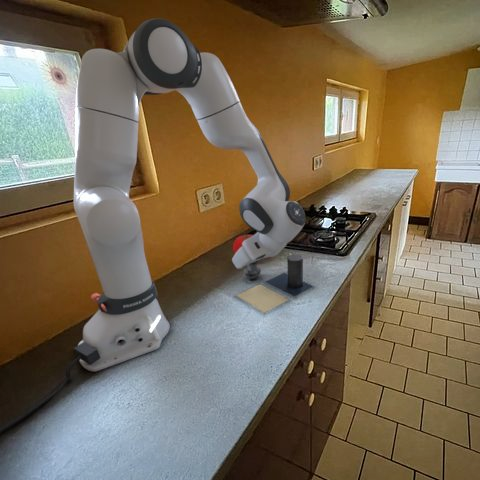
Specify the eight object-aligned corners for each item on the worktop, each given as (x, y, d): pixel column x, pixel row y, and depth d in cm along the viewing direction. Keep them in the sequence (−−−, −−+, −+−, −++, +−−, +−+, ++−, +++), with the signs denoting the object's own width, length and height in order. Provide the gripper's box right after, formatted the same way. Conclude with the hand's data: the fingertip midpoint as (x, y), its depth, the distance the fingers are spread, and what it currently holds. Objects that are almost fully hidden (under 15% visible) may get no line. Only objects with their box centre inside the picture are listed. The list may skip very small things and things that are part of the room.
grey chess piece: (259, 284, 103) (256, 251, 98) (242, 282, 104) (239, 251, 99) (263, 276, 108) (261, 245, 103) (247, 275, 110) (244, 244, 104)
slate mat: (294, 297, 95) (294, 296, 94) (265, 282, 104) (265, 281, 104) (313, 287, 100) (313, 286, 100) (284, 274, 109) (284, 272, 109)
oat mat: (264, 314, 87) (264, 312, 87) (236, 296, 97) (235, 295, 96) (288, 300, 93) (288, 299, 93) (259, 285, 103) (259, 284, 102)
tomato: (254, 252, 128) (253, 228, 123) (269, 261, 119) (267, 236, 115) (229, 259, 123) (226, 234, 118) (242, 269, 114) (239, 243, 109)
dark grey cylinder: (295, 290, 98) (295, 262, 93) (284, 284, 101) (284, 257, 97) (305, 284, 101) (306, 257, 96) (295, 279, 104) (295, 253, 99)
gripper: (287, 224, 100) (268, 245, 110) (239, 242, 87) (222, 263, 98) (297, 240, 99) (277, 259, 110) (250, 260, 86) (232, 280, 97)
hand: (251, 261), depth 104 cm, fingers open, 8 cm apart
